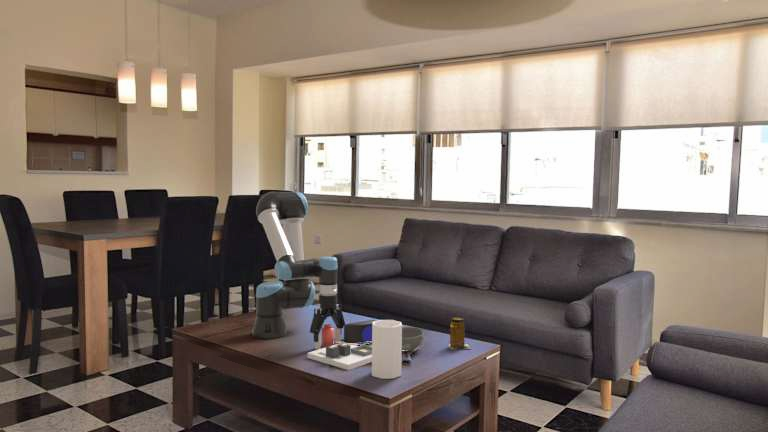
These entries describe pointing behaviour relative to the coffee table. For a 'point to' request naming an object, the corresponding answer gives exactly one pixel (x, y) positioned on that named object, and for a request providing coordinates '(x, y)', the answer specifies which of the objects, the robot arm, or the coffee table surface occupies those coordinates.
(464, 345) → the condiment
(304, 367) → the coffee table surface
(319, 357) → the panel
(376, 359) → the white canister
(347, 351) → the breaker
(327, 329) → the cap
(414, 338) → the bowl
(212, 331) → the coffee table surface
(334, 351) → the breaker
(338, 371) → the coffee table surface
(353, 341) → the leaning round-cornered charcoal block
